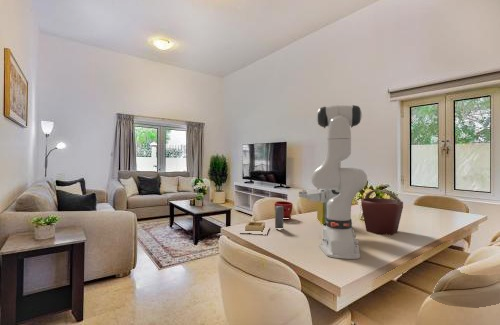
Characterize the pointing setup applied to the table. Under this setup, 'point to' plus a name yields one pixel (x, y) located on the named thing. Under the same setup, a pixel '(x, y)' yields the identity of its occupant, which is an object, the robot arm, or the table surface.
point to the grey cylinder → (278, 216)
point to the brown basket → (382, 213)
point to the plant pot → (285, 208)
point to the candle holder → (255, 226)
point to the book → (321, 211)
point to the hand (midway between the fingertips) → (299, 194)
